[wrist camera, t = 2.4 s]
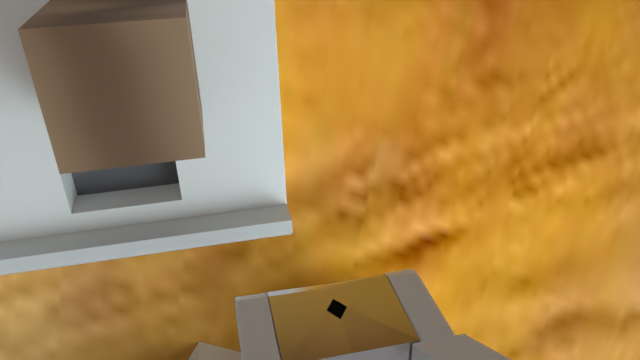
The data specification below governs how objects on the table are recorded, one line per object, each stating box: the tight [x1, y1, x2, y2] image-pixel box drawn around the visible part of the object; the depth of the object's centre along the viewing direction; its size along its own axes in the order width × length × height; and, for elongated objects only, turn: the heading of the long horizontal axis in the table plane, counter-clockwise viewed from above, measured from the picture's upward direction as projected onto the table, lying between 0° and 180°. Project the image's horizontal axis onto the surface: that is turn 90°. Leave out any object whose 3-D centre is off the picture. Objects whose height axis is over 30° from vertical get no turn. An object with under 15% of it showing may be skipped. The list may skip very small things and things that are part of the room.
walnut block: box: [18, 0, 206, 174], centre depth 20 cm, size 5×5×5 cm
